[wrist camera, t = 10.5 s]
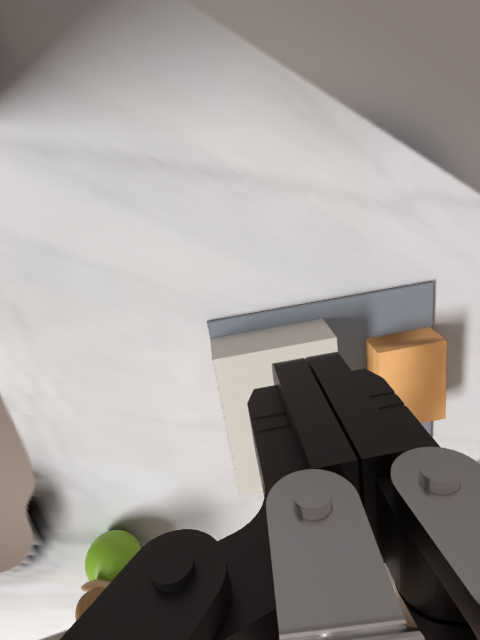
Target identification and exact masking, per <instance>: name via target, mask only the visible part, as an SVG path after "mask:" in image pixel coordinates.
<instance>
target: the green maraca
mask: <svg viewBox="0 0 480 640" xmlns="http://www.w3.org/2000/svg"><path fill="white" fill-rule="evenodd" d="M140 549H141V546H140V544H139V542H138V540H137V539H136V538H135V537H134V536H133V535H132V534H130V533H128V532H126V531H123V530H112V531H108V532H106V533H104V534H102V535H101V536H99V537H98V538H97V539H96V540H95V541H94V542H93V543H92V545H91V546H90V548H89V550H88V553H87V556H86V560H85V570H86V575H87V577H88V579H89V582H87V583H86V584H84V585H83V586H82V587H81V589H82V590H83V591H87V593H85V594H84V595H83V596H82V597H81V599H80V600H79V602H78V604H77V607H76V621H77V620H78V619H79V617H80V616H81V615H82V614H83V613H84V612H85V611H86V610H87V608H88V607H89V606H90V605H91V604H92V603H93V602H94V601H95V599H96V598H97V597H98V596H99V595H100V594H101V593H102V592H103V590H104V589H105V588H106V587H107V586H108V585H109V584H110V583H111V581H112V580H113V579H114V578H115V577H116V576H117V575H118V574H119V572H120V571H121V570H122V569H123V568H124V567H125V566H126V565H127V563H128V562H129V561H130V560H131V559H132V558H133V557H134V555H135V554H136V553H137V552H138V551H139V550H140Z"/></svg>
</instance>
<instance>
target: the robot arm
mask: <svg viewBox="0 0 480 640" xmlns="http://www.w3.org/2000/svg"><path fill="white" fill-rule="evenodd" d="M272 374H273V381H274V385H273V386H268V387H262V388H257V389H254V390H253V392H252V394H251V396H250V398H249V401H248V403H247V406H248V412H249V417H250V423H251V429H252V435H253V441H254V447H255V453H256V458H257V463H258V468H259V473H260V478H261V483H262V488H263V493H264V502H263V505H262V507H261V509H260V511H259V512H258V513H257V515H256V516H255V517H254V518H253V519H252V521H251V522H250V523H248V524H247V525H246V526H245V527H243V528H242V529H240V530H238V531H237V532H235V533H233V534H231V535H229V536H227V537H225V538H223V539H221V540H219V541H216V540H215V539H214V538H213V537H212V536H210V535H208V534H206V533H204V532H201V531H198V530H192V529H181V530H175V531H171V532H168V533H165V534H163V535H160V536H158V537H156V538H155V539H153V540H151V541H150V542H149V543H147V544H146V545H145V546H143V547H142V548H141V549H140V550H139V551H138V552H137V553H136V554H135V555H134V557H133V558H132V559H131V560H130V561H129V562H128V563H127V565H126V566H125V567H124V568H123V569H122V570H121V571H120V572H119V574H118V575H117V576H116V577H115V578H114V579H113V580H112V581H111V583H110V584H109V585H108V586H107V587H106V588H105V589H104V590H103V592H102V593H101V594H100V595H99V596H98V597H97V598H96V599H95V601H94V602H93V603H92V604H91V605H90V606H89V607H88V608H87V610H86V611H85V612H84V613H83V614H82V615H81V616H80V617H79V619H78V620H77V621H76V622H75V623H74V624H73V625H72V626H71V628H70V629H69V630H68V631H67V632H66V633H65V635H63V637H62V638H61V639H60V640H480V464H479V463H477V462H476V461H475V460H473V459H472V458H470V457H468V456H466V455H464V454H462V453H460V452H457V451H454V450H450V449H446V448H441V447H440V446H439V445H438V444H437V443H436V441H435V440H434V439H433V438H432V436H431V435H430V434H429V433H428V432H427V430H426V429H425V428H424V427H423V425H422V424H421V423H420V422H419V421H418V419H417V418H416V417H415V416H414V415H413V413H412V412H411V411H410V410H409V408H408V407H407V406H405V405H404V402H403V401H402V400H401V399H400V397H399V396H398V395H397V394H396V395H395V391H394V390H393V389H392V388H391V387H390V385H389V384H388V383H387V382H386V380H385V379H384V378H382V377H381V376H379V375H377V374H375V373H373V372H371V371H369V370H367V369H365V368H364V369H359V370H354V371H351V369H350V368H349V367H348V365H347V364H346V362H345V361H344V359H343V358H342V357H341V355H340V354H339V353H338V352H332V353H326V354H321V355H315V356H310V357H306V358H305V359H304V358H300V359H294V360H289V361H283V362H278V363H272ZM384 563H386V565H387V567H388V568H389V571H390V573H391V575H392V577H393V580H394V589H393V586H392V584H391V581H390V579H389V576H388V573H387V570H386V567H385V565H384Z"/></svg>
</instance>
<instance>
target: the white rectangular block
mask: <svg viewBox="0 0 480 640" xmlns="http://www.w3.org/2000/svg"><path fill="white" fill-rule="evenodd" d="M210 340H211V351H212V361H213V366H214V371H215V376H216V381H217V386H218V391H219V397H220V402H221V407H222V412H223V417H224V422H225V427H226V432H227V437H228V442H229V447H230V452H231V457H232V462H233V468H234V473H235V478H236V483H237V488H238V493H239V496H243V495H248V494H253V493H259V492H263V488H262V483H261V478H260V473H259V468H258V463H257V458H256V453H255V447H254V441H253V435H252V429H251V423H250V417H249V412H248V406H247V403H248V401H249V398H250V396H251V394H252V392H253V390H254V389H257V388H262V387H268V386H273V385H274V381H273V374H272V363H278V362H283V361H289V360H294V359H300V358H304V359H305V358H306V357H310V356H315V355H321V354H326V353H332V352H338V348H337V337H336V336H335V334H334V333H333V332H332V330H331V329H330V328H329V326H328V325H327V324H326V322H325V321H324V320H323V319H317V320H312V321H306V322H301V323H295V324H289V325H284V326H278V327H273V328H267V329H262V330H256V331H251V332H245V333H239V334H234V335H228V336H223V337H217V338H212V339H210Z"/></svg>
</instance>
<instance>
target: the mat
mask: <svg viewBox="0 0 480 640" xmlns="http://www.w3.org/2000/svg"><path fill="white" fill-rule="evenodd" d="M317 319H323V320H324V321H325V322H326V324H327V325H328V326H329V328H330V329H331V330H332V332H333V333H334V334H335V336H336V337H337V348H338V353H339V354H340V355H341V357H342V358H343V359H344V361H345V362H346V364H347V365H348V367H349V368H350V369H351V371H354V370H359V369H364V368H365V369H367V362H366V345H365V339H368V338H373V337H378V336H383V335H389V334H394V333H399V332H404V331H409V330H415V329H420V328H425V327H430V328H432V325H433V282H431V281H430V282H425V283H419V284H413V285H408V286H402V287H397V288H391V289H385V290H380V291H374V292H369V293H363V294H357V295H352V296H346V297H341V298H335V299H329V300H324V301H318V302H313V303H307V304H301V305H296V306H290V307H285V308H279V309H273V310H268V311H262V312H257V313H251V314H245V315H240V316H234V317H229V318H223V319H217V320H212V321H207V324H208V329H209V334H210V339H212V338H217V337H223V336H228V335H234V334H239V333H245V332H251V331H256V330H262V329H267V328H273V327H278V326H284V325H289V324H295V323H301V322H306V321H312V320H317ZM421 424H422V425H423V427H424V428H425V429H426V430H427V432H428V433H429V434H430V435H431V421H430V422H425V423H421Z"/></svg>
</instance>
